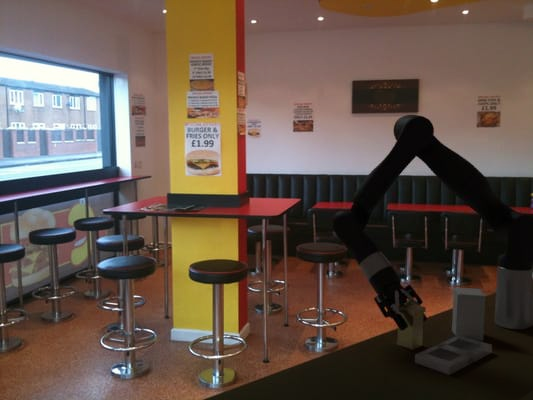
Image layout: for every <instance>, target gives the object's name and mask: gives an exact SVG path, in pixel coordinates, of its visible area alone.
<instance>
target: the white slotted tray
mask: <svg viewBox="0 0 533 400" xmlns="http://www.w3.org/2000/svg"><path fill="white" fill-rule="evenodd" d="M492 349H493V344H490V343H488V342H487V343H486V342H484V341H478V340H475V339H471V338H468V337H463V336H460V335H458V336H453V337H451V338H449V339H447V340H445V341H442V342H440V343H438V344H436V345H433V346H431V347H429V348H426V349H424V350H422V351H419V352H417V353H415V354H414V364H416V365H419V366H423V367H426V368H428V369H431V370H433V371H436V372H439V373H442V374H445V375H448V376H451V375H452V374H454V373H457V372H458V371H459V370H462V369H464V368H465V367H468V366H469V365H471V364H473V363H475V362H477V361H479V360H481V359H482V358H484V357H486V356H488V355H490V354H492V352H493V351H492Z"/></svg>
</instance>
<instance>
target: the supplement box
mask: <svg viewBox="0 0 533 400" xmlns="http://www.w3.org/2000/svg"><path fill="white" fill-rule="evenodd" d="M452 300H453V301H452V320H451V321H452V322H451V333H453V334H454V335H455V336H454V337H456V336H458V335H460V336H463V337H467V338H470V339H474V340H477V341H480V342H484V331H485V310H486V295H485V294H484V292H483V290H482V289H480V288H470V287H469V288H467V287H466V288H465V287H464V288H463V287H454V288H453V299H452Z"/></svg>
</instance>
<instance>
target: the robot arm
mask: <svg viewBox="0 0 533 400" xmlns="http://www.w3.org/2000/svg"><path fill="white" fill-rule="evenodd" d="M434 134H435V129H434V125H433V123H432V121H431V119H429V118H427V117H425V116H423V115H417V114H406V115H403V116H401V117H399V118H398V119H397V120H396V121H395V123H394V124H393V137H394V139H395V140H396V142H395V143H394V145H393V147H392V148H391V149H390V151H389V153H388V154H387V155H386V156H385V157H384V159H383V160H382V161H381V162H380V163H379V164H378V165H377V166H376V167H375V168H373V170H371V171H370V173H369V174H367V176H366V177H365V178H364V180H363V181H362V182H361V184H360V185H359V187H358V188H357V189H356V191H355V192H354V194H353V195H352V198H351V200H352V205H351V207H350V208H349V211H348V210H339V211H337V212H336V213H335V214H334V215H333V217H332V220H331V228H332V230H333V232H334V233H335V234H336V236H337V238H338V239H339V240H340V241H341V242H342V244H344V245H345V247H346V248H347V249H348V250H349V251H350V253H351V254H352V257H353V258H354V259H355V261H356V263H357V264H358V266H359V267H360V269H361V271H362V273H363V275H364V276H365V278H366V280H367V281H368V283H369V284H370V285H371V288H372V289H373V290H374V292H375V294H377V295H376V296H374V298H373V300H374V302H375V303H376V305H377V307H378V309H379V310H380V312H381V313H382V315H383V317H384V318H386V319H387V318H390V319H392V320H393V322H394V323H395V325H396V326H397V328H398V327H399V328H400V330H402V331H403V330H405V329H406V328H407V327H408V324H407V323H406V321H405V320H404V318H403V317H402V315H401V314H399V308H398V307H399V305H402V304H405V303H412V304H416V305H420V306H422V304H423V303H424V301H423V300H422V299H421V297H420V296H419V294H418V293H417V292H416V291H415V289H414V288H413V287H412V285H411V284H407V285H406V286H403V285H402V284H401V281H402V280H401V277H400V276H399V274H398V272H397V270H396V269H395V268H394V267H393V265H392V264H391V262H390V261H389V260H388V258H387V256H385V255H384V254H383V252H382V251H381V249H380V248H379V247H378V245H377V243H375V241H374V239H372V238H371V237H370V236H369V235H368V234H367V233H365V231H364V230H365V229H366V227H367V225H368V224H369V221H370V219H371V217H372V215H373V213H374V210H375V208H376V207H378V205H379V203H380V202H381V201H382V199H383V198H384V197H385V195H386V194H387V192H388V191H389V190H390V188H391V187H392V185H393V184H394V183H395V182H396V181H397V179H398V177H400V175H401V174H402V173H403V171H404V170H405V169H406V168H408V166H409V165H410V163H412V161H414V159H415V158H418V159H419V160H420V161H422V162H423V164H425V165H426V167H427V168H429V170H430V171H431V172H432V173H433V174H434V175H435V177H437V179H439V180H440V181H441V182H442V183H443V184H444V186H446V188H447V189H448V190H450V191H451V192H452V193H453V194H454V195H455V196H456V197H457V198H458V199H459V200H461V201H462V202H463V203H465V204H466V206H468V207H469V208H470V209H472V210H473V212H476V213H477V214H478V215H479V216H480V217H481V218H482V219H483V220H484V222H485V223H486V224H487V226H489V227H490V228H491V230H492V231H493V232H494V233H495V235H497V237H498V238H500V239H501V240H502V241H505V242H506V248H505V253H503V254H501V255H499V256H498V258H497V268H496V270H497V274H496V288H495V289H496V292H495V307H494V323H495V325H496V326H499V327H501V328H505V329H512V330H526V329H528V328H531V327H533V293H532V283H533V282H532V281H533V279H532V278H533V215H531V214H529V213H524V212H520V211H516V210H514V209H512V208H510V207H509V206H508V205H507V204H505V203H504V202H503V201H502V200H501V199H500V198H499V197H497V195H496V194H495V192H494V190H493V188H492V186H491V184H490V182H489V180H488V179H487V177H486V176H485V175H484V174H483V173H482V172H481V171H480V169H478V168H477V167H476V166H475V165H474V164H472V163H471V162H470V161H468V160H467V159H466V158H464V157H463V156H462V155H460V154H459V153H458V152H456V151H454V150H453V149H451V148H449V147H447V146H446V145H445V144H444V143H442V141H440V140H439V139H438V138H437V137H436V136H435V135H434ZM427 320H428V318H427V315H426V314H425V313H424V315H423V324H424V323H425V322H427Z"/></svg>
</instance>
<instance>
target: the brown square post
mask: <svg viewBox="0 0 533 400" xmlns="http://www.w3.org/2000/svg"><path fill="white" fill-rule="evenodd" d="M426 307H427V306H423V305H416V304H412V303H405V304H402V305H399V307H398V308H399V314H401V315H402V317H403V318H404V320H405V321H406V323H407V324H408V327H407V328H406V329H405V330H403V331H402V330H400V328H399V327H398V326H397V341H396V344H397V346H399V347H402V348H406V349H409V350H410V351H413V350H415V349H418V348H420V347H422V346H423V339H424V336H423V335H424V332H423V331H424V323H423V315H424V314H425V312H426V309H427V308H426Z"/></svg>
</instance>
